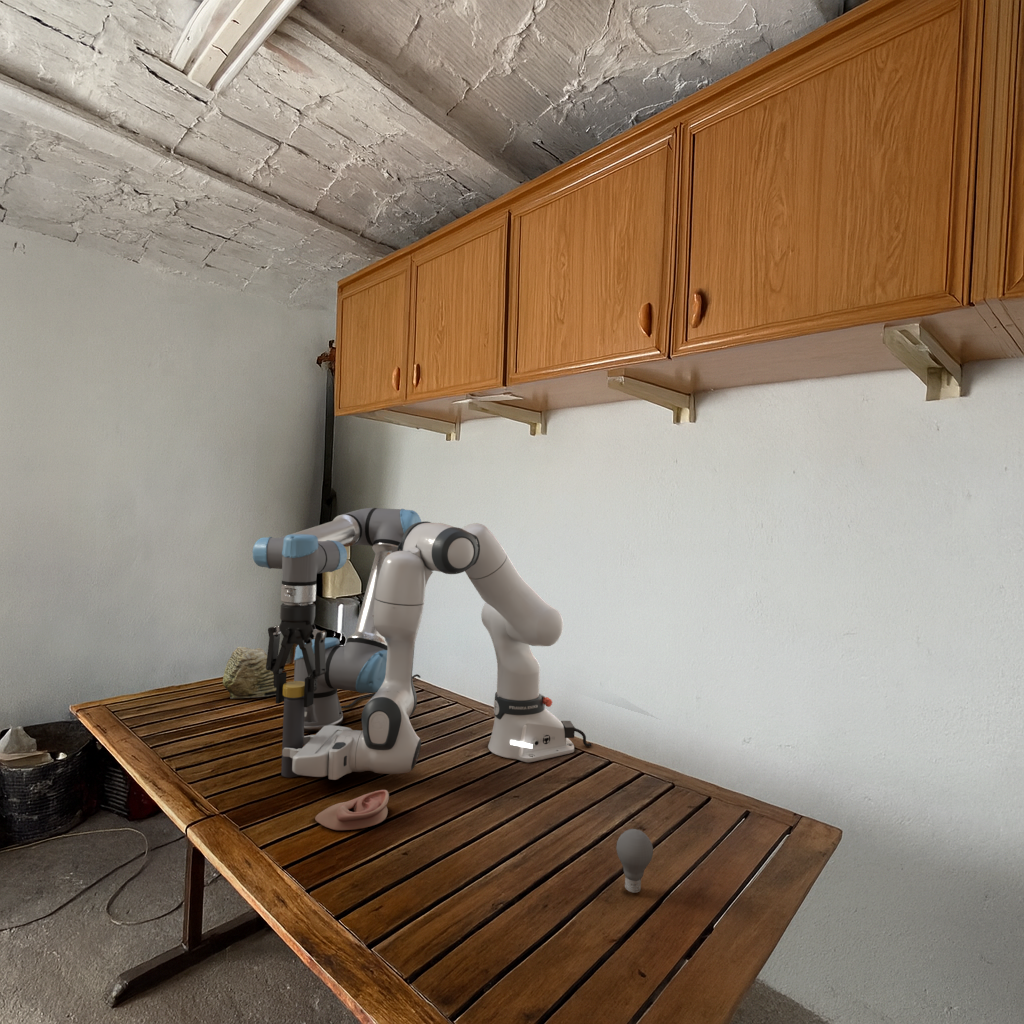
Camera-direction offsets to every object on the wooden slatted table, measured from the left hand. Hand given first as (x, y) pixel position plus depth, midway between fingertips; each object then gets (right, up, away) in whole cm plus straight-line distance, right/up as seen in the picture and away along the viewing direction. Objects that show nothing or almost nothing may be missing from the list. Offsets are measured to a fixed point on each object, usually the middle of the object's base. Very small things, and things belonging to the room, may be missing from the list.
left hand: (294, 703), depth 144 cm
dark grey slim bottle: (-1, -16, 0) cm, 16 cm away
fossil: (-31, -14, +54) cm, 64 cm away
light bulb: (+70, -20, -38) cm, 82 cm away
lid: (0, +4, 0) cm, 4 cm away
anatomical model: (+18, -17, -18) cm, 31 cm away
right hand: (-1, -10, 0) cm, 10 cm away
